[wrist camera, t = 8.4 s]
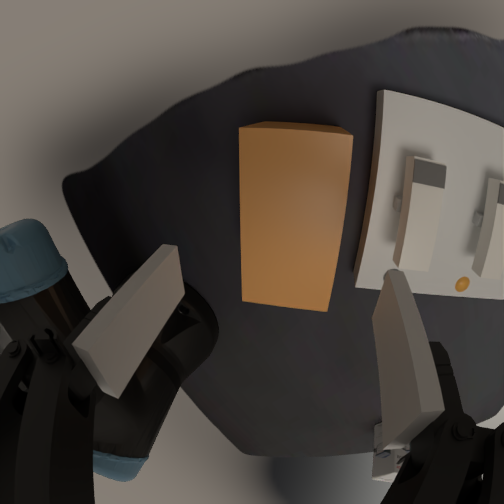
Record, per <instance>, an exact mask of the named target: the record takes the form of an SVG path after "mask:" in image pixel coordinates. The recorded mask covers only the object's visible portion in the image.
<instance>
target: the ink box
mask: <svg viewBox="0 0 504 504" xmlns="http://www.w3.org/2000/svg"><path fill="white" fill-rule="evenodd" d="M410 451H411V442H410V443H409V444H407V445H406V446H405V447H404V448H401V449H386V450H383V437H382V422H381V423H379V424H376V425H375V426H374V455H373V470H372V479H373V480H379V481H386V482H393V481H394V479H395V477H396V475H397V474H398V472H399V470H400V468H401V466H402V464H403V462H404V461H403V462H402V463H400V464H399V465H398V464H396V463H397V462H398V461H399V459H400V458H402V457H403V456H405V455H406V454H407V453H409V452H410Z"/></svg>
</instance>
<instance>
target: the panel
mask: <svg viewBox="0 0 504 504" xmlns="http://www.w3.org/2000/svg"><path fill="white" fill-rule="evenodd" d="M406 156H416V157H421V158H425V159H430V160H434V161H438V162H442V163H446V166H447V169H446V180H445V189H444V190H443V198H442V206H441V212H440V219H439V224H438V230H437V235H436V240H435V245H434V250H433V254H432V259H431V263H430V267H429V271H428V272H426V271H417V270H408V269H399V268H398V267H397V266H396V264H395V263H394V262H393V260H392V259H393V254H394V249H395V244H396V238H397V232H398V226H399V220H400V213H401V206H402V198H403V190H404V180H405V169H406ZM489 178H492V179H497V180H501V181H504V128H503V127H501V126H499V125H496V124H494V123H492V122H489V121H487V120H485V119H482V118H480V117H477V116H475V115H472V114H469V113H467V112H464V111H461V110H458V109H455V108H452V107H449V106H446V105H443V104H440V103H437V102H433V101H430V100H426V99H423V98H419V97H415V96H411V95H407V94H403V93H398V92H394V91H389V90H380V91H377V103H376V121H375V135H374V146H373V156H372V165H371V173H370V181H369V188H368V195H367V202H366V208H365V214H364V220H363V226H362V231H361V237H360V242H359V247H358V252H357V256H356V261H355V266H354V270H353V275H354V282H355V287H358V288H368V289H378V290H381V289H382V286H383V283H384V280H385V276H386V273H387V270H395V271H403V272H404V274H405V276H406V279H407V281H408V284H409V287H410V289H411V292H412V293H421V294H433V295H446V296H459V297H472V298H487V299H504V268H503V271H502V275H501V278H500V280H498V279H489V278H480V277H479V276H478V275H477V274H476V273H475V272H474V271H473V270H472V269H471V268H472V265H473V261H474V257H475V253H476V249H477V245H478V241H479V236H480V232H481V227H482V221H483V216H484V210H485V204H486V197H487V189H488V180H489Z"/></svg>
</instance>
